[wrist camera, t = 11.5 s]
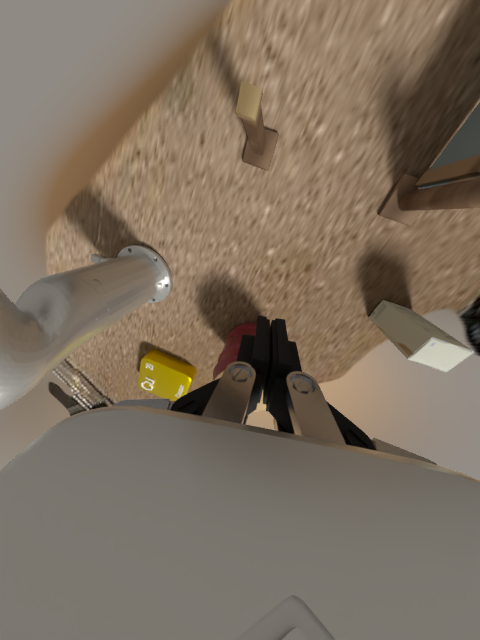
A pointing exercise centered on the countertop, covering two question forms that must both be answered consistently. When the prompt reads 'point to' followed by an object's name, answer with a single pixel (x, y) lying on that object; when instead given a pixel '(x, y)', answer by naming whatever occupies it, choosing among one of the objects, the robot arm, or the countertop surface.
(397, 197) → the gate frame
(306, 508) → the robot arm
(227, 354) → the canister
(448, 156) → the panel
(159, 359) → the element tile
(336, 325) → the countertop surface
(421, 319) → the skincare box
